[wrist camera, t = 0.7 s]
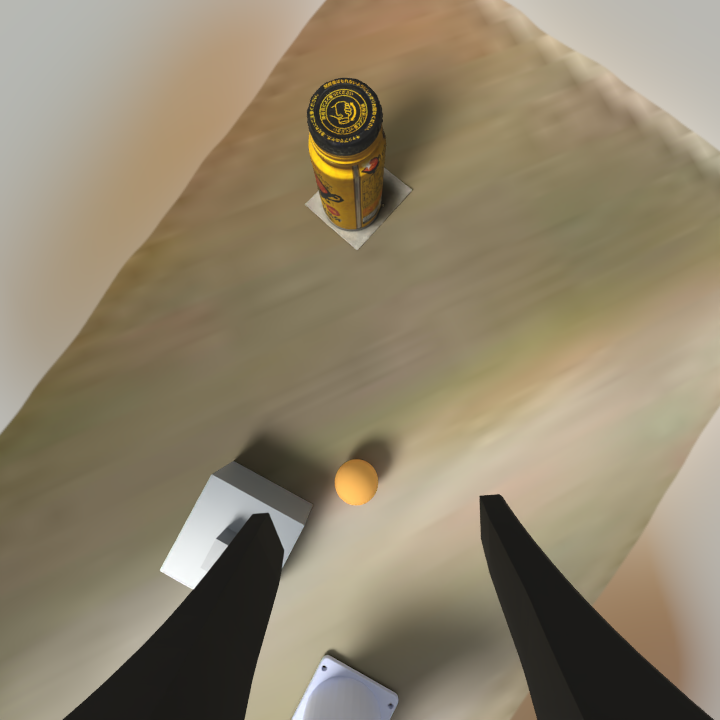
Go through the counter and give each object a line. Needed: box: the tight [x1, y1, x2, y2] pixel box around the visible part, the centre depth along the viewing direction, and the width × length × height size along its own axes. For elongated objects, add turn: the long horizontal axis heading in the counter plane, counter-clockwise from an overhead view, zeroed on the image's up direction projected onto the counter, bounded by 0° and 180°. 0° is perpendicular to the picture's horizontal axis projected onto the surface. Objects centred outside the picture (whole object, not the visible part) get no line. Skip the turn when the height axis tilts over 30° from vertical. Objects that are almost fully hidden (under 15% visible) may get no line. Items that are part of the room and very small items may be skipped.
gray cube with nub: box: [160, 461, 313, 589], centre depth 29 cm, size 9×9×7 cm
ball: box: [335, 459, 378, 505], centre depth 31 cm, size 4×4×4 cm
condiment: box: [305, 78, 412, 250], centre depth 29 cm, size 7×8×12 cm
